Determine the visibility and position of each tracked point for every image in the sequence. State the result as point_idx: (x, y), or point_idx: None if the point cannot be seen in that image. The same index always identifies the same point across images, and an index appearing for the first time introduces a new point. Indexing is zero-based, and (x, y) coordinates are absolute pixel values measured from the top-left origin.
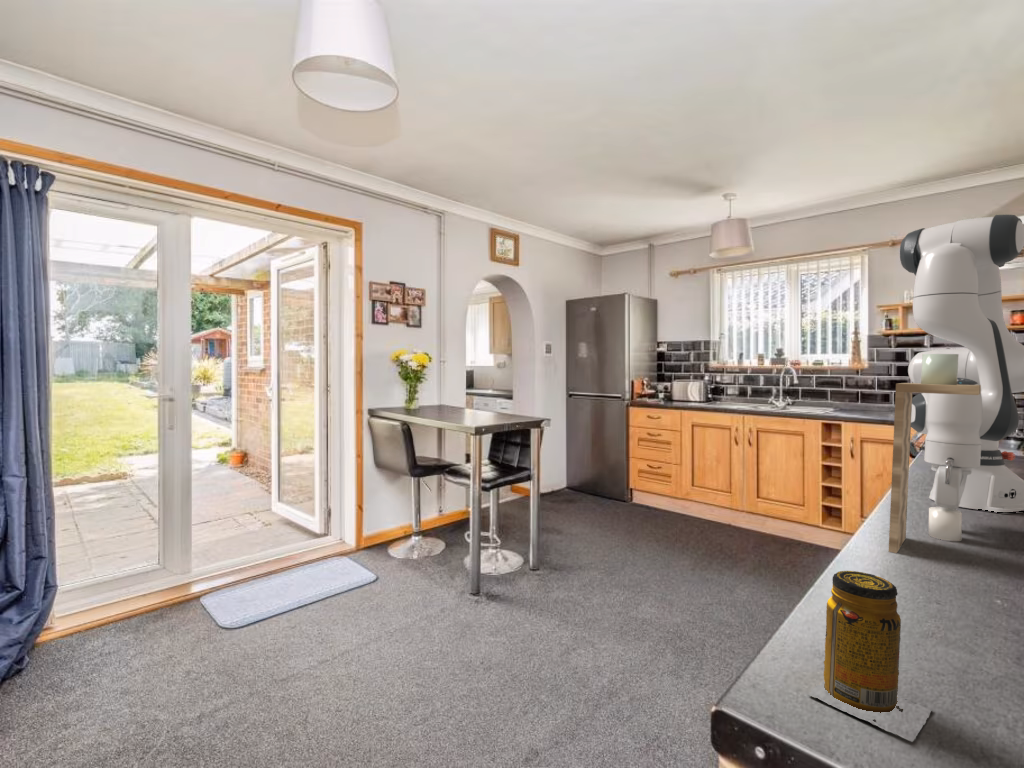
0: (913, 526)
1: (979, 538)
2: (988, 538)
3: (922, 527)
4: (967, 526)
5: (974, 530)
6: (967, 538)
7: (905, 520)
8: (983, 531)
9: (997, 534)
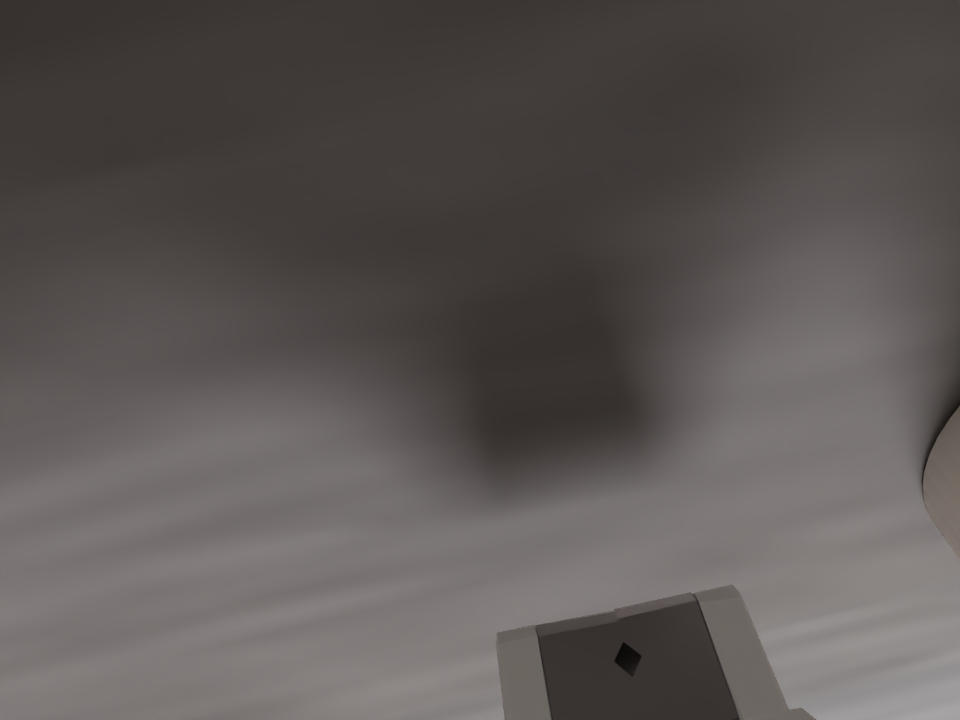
0: None
1: (787, 177)
2: (647, 88)
3: None
4: (70, 489)
5: (239, 372)
6: (941, 275)
7: None
8: (142, 283)
9: (94, 75)
